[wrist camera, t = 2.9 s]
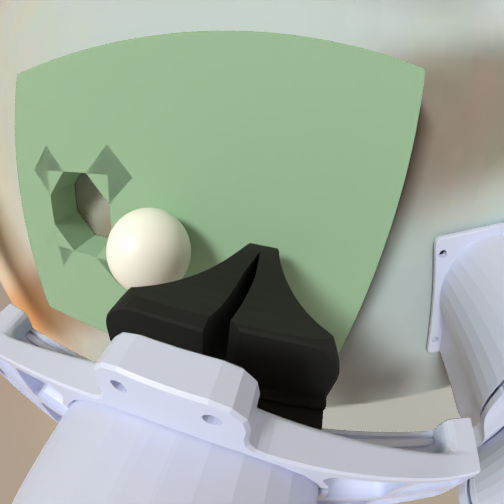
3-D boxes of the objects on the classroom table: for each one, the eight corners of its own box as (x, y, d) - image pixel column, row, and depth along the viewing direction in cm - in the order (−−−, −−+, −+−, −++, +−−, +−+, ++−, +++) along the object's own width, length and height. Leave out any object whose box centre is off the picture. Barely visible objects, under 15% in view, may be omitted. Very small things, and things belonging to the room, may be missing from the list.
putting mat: (407, 75, 10) (425, 69, 8) (320, 365, 20) (318, 391, 18) (41, 72, 13) (17, 74, 11) (64, 291, 23) (49, 306, 21)
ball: (215, 260, 14) (184, 309, 11) (154, 272, 15) (116, 315, 12) (185, 186, 13) (139, 217, 9) (124, 208, 14) (75, 241, 10)
